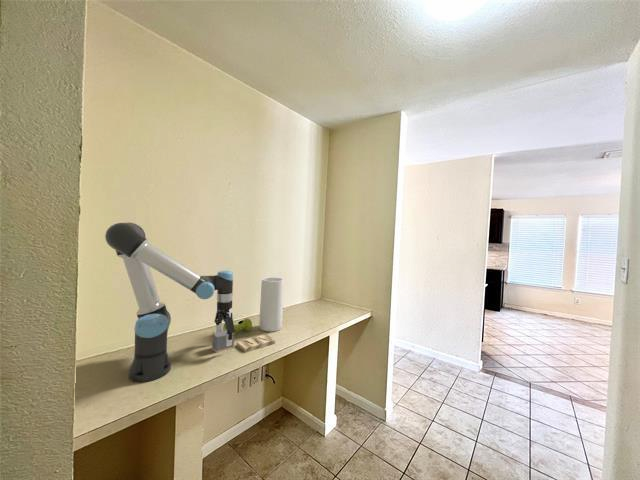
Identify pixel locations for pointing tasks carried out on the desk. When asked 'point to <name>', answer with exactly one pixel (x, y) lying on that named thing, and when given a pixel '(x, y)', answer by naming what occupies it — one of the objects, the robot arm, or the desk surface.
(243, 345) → the board
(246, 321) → the dumbbell
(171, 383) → the desk surface
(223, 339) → the block
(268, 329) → the vase
